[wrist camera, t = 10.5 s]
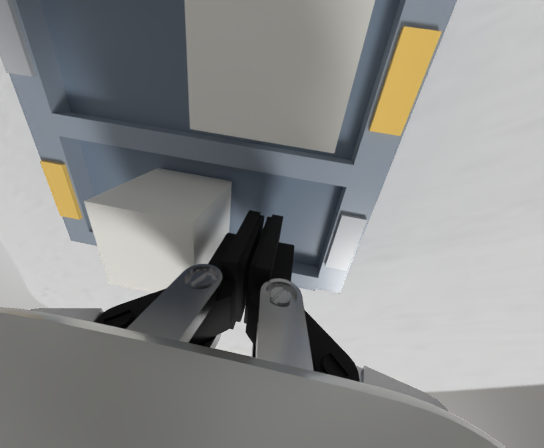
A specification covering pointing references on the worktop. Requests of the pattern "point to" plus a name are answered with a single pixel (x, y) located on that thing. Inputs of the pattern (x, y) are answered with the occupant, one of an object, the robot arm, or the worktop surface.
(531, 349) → the worktop surface
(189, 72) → the tab
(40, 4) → the switch bank
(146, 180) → the tab
